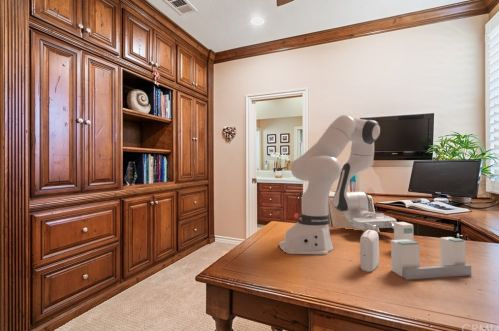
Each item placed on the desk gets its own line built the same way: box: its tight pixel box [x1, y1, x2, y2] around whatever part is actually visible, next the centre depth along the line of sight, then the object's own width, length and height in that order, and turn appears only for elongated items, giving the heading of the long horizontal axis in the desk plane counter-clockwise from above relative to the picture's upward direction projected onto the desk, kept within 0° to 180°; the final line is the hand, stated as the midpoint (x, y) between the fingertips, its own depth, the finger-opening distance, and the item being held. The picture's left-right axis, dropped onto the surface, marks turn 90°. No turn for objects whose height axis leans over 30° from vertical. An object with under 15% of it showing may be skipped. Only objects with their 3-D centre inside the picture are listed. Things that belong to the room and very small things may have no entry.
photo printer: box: [359, 229, 380, 273], centre depth 85 cm, size 10×4×12 cm, turn 139°
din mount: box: [390, 236, 472, 280], centre depth 79 cm, size 22×7×10 cm, turn 96°
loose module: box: [393, 221, 415, 241], centre depth 99 cm, size 4×5×11 cm
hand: (384, 227), depth 111 cm, fingers open, 8 cm apart
